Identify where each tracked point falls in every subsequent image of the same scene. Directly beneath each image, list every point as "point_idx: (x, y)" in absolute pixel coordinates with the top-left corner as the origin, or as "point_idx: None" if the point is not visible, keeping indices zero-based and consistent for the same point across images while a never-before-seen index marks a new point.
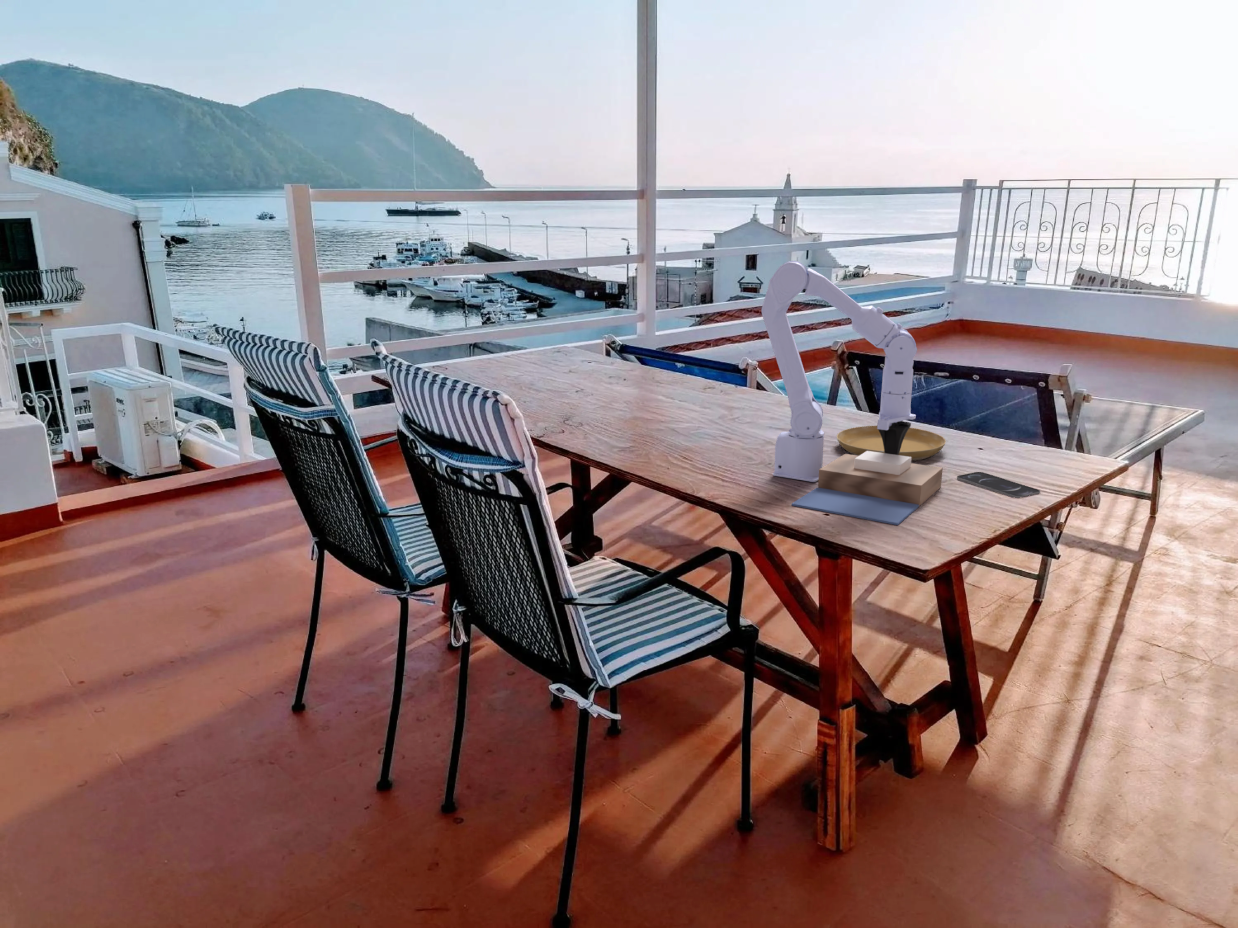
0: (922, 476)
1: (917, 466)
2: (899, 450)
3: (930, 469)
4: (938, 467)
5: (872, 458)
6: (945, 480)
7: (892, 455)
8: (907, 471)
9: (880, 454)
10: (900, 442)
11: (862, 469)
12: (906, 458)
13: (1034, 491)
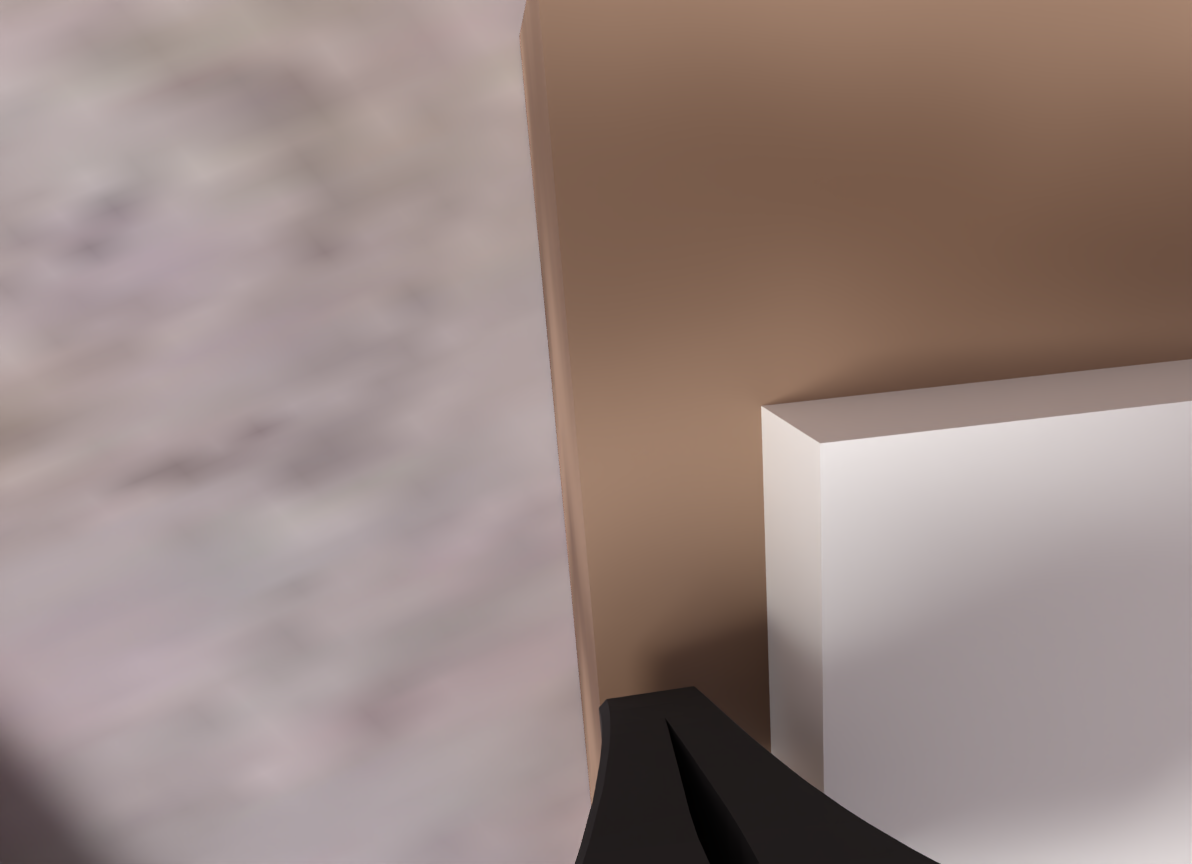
0: (1174, 60)
1: (702, 329)
2: (645, 742)
3: (748, 100)
4: (562, 28)
5: (1189, 832)
6: (191, 91)
7: (891, 712)
8: (1025, 339)
9: None
10: (745, 829)
11: None
12: (956, 468)
13: None
